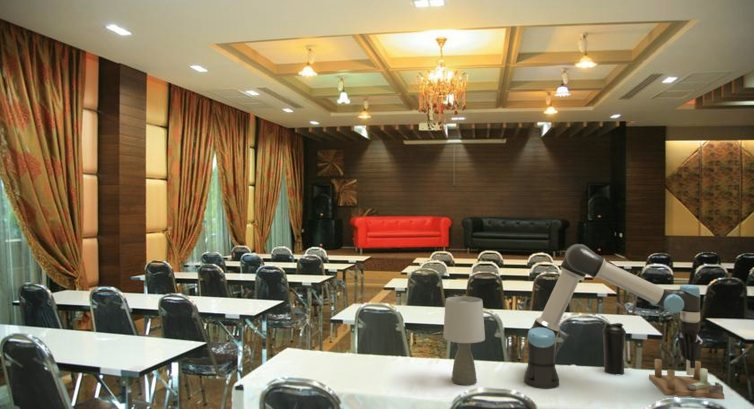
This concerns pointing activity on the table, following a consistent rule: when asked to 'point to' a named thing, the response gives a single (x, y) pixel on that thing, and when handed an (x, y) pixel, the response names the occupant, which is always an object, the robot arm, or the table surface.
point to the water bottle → (614, 348)
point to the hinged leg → (702, 383)
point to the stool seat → (683, 383)
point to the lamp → (464, 334)
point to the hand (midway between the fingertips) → (690, 374)
